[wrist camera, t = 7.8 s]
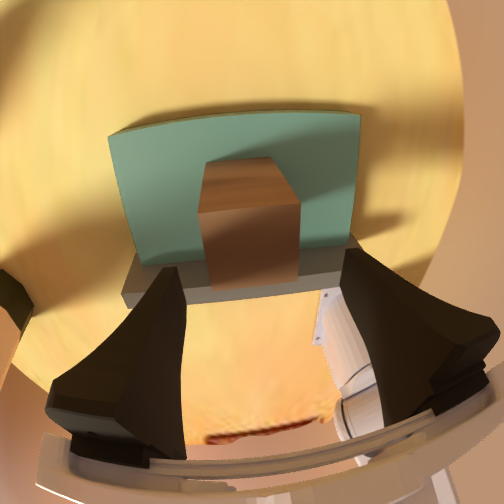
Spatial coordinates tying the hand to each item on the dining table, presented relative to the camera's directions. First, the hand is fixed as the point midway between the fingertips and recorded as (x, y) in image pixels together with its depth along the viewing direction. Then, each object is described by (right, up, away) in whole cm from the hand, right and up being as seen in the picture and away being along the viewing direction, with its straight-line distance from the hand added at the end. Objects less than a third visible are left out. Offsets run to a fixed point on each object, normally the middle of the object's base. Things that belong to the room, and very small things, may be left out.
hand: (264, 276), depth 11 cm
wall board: (-1, +5, +8) cm, 10 cm away
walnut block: (-1, +5, +6) cm, 8 cm away
